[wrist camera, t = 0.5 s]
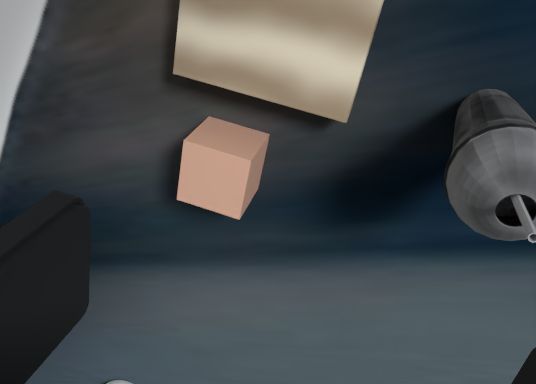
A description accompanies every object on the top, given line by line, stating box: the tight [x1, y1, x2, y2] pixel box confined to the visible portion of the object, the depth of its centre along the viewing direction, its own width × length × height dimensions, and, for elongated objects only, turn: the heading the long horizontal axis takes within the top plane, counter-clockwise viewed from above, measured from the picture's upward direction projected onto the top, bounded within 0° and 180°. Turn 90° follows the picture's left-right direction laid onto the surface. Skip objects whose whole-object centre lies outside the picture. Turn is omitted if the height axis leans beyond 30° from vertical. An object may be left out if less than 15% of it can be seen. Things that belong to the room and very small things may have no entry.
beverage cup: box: [443, 89, 536, 243], centre depth 32 cm, size 7×7×20 cm
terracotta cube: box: [177, 116, 270, 220], centre depth 46 cm, size 6×6×6 cm
